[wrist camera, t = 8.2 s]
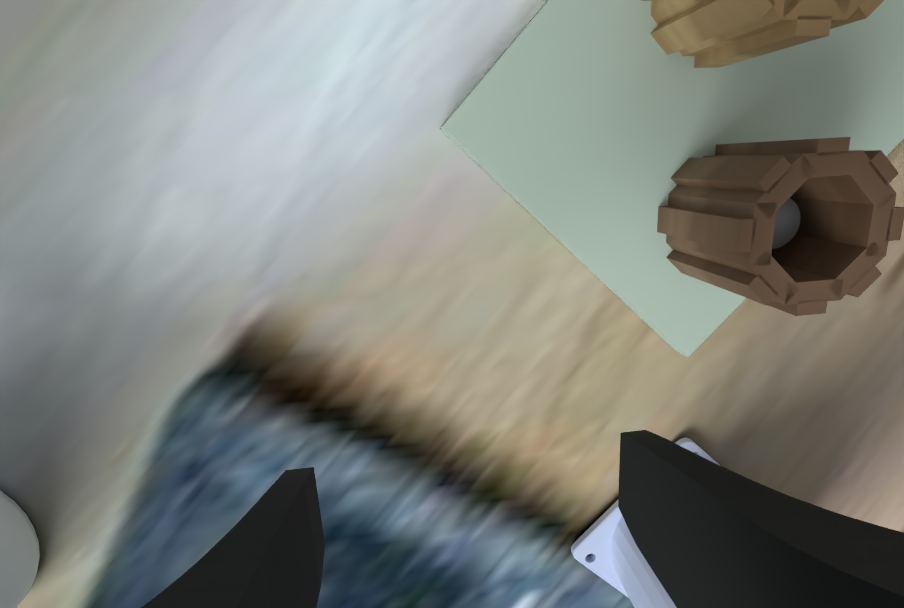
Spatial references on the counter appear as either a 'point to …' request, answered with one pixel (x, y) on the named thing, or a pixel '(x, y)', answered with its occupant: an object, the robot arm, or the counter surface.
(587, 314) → the counter surface
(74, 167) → the counter surface
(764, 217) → the walnut cog
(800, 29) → the oak cog
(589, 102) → the board
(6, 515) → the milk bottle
